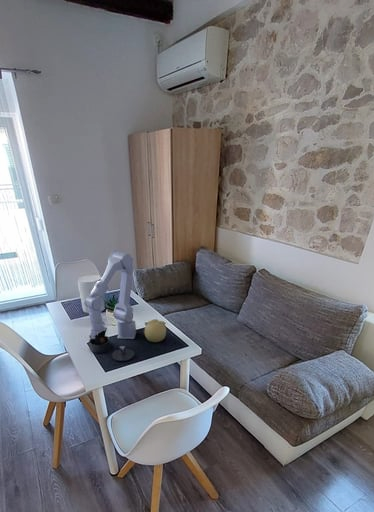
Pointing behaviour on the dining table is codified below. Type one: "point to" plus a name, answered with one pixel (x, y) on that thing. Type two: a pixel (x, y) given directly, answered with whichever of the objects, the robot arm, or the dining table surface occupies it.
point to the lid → (122, 354)
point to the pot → (100, 346)
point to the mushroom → (102, 341)
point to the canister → (87, 288)
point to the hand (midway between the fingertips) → (100, 344)
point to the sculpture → (155, 330)
